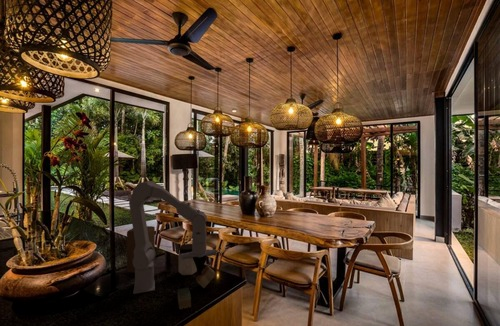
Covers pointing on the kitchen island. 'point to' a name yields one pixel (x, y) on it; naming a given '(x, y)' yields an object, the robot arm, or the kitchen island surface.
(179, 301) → the teal face block
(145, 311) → the kitchen island surface
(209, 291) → the kitchen island surface
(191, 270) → the jar
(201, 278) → the rust face block
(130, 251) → the block
